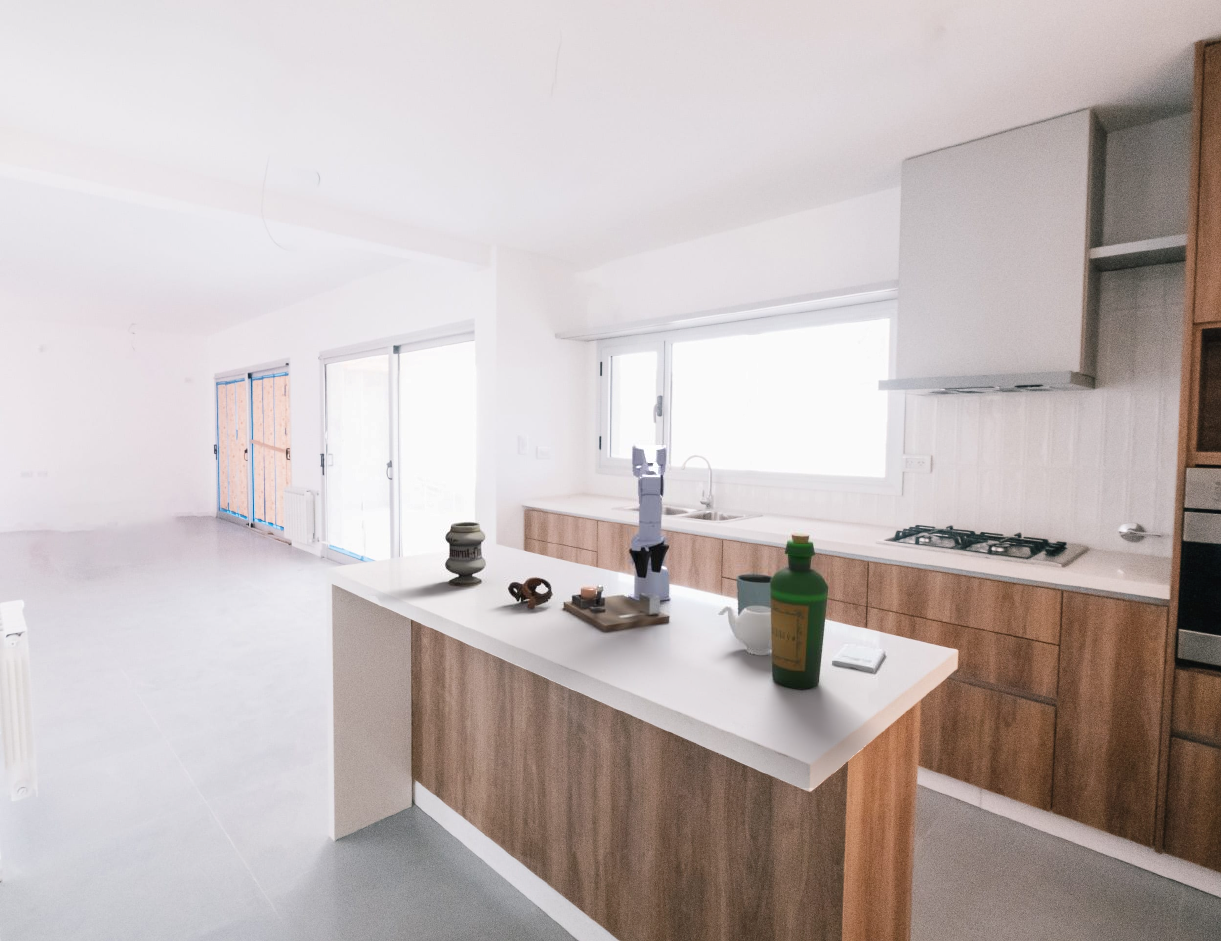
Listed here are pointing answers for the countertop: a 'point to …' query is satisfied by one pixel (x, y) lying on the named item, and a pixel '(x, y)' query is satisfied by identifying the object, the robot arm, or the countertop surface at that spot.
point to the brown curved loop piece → (530, 591)
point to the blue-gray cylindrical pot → (753, 591)
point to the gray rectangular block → (649, 603)
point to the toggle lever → (598, 596)
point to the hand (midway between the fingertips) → (649, 574)
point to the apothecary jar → (465, 553)
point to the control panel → (613, 613)
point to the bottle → (797, 617)
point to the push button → (588, 593)
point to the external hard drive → (859, 657)
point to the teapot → (752, 628)
